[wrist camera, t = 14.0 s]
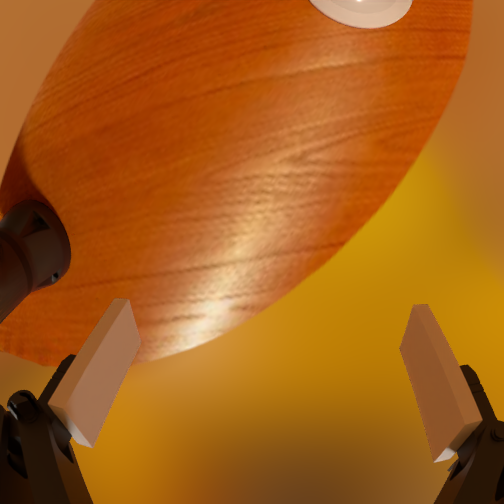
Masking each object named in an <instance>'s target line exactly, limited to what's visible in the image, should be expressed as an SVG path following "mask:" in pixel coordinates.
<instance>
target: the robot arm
mask: <svg viewBox="0 0 504 504" xmlns="http://www.w3.org/2000/svg"><path fill="white" fill-rule="evenodd" d="M70 260H71V251H70V244H69V240H68V237H67V234H66V232H65V229H64V227H63V226H62V224H61V222H60V221H59V219H58V218H57V216H56V215H55V214H54V213H53V212H52V211H51V210H50V209H49V208H48V207H47V206H45V205H44V204H42V203H40V202H38V201H35V200H25V201H22V202H20V203H18V204H17V205H15V206H13V207H12V208H11V209H10V210H9V211H8V212H7V213H6V214H5V216H4V217H3V218H2V220H1V221H0V323H1V322H2V321H3V320H4V319H5V318H6V317H7V316H8V315H9V314H10V313H11V312H12V311H13V310H14V309H15V308H16V307H17V306H18V305H19V304H20V303H21V302H22V301H23V300H24V298H25V297H26V296H28V295H29V294H30V293H31V292H34V291H37V290H39V289H42V288H45V287H48V286H50V285H53V284H54V283H56V282H57V281H58V280H59V279H61V278H62V277H63V276H64V275H65V273H66V272H67V270H68V268H69V265H70ZM140 344H141V339H140V336H139V333H138V330H137V326H136V323H135V320H134V316H133V313H132V309H131V306H130V302H129V299H120V298H115V299H114V300H113V302H112V303H111V304H110V306H109V307H108V309H107V310H106V312H105V313H104V315H103V316H102V318H101V319H100V321H99V322H98V324H97V325H96V327H95V328H94V330H93V331H92V333H91V334H90V336H89V337H88V339H87V340H86V342H85V343H84V345H83V346H82V348H81V350H80V351H79V353H78V354H77V355H72V354H70V355H69V356H68V357H67V358H65V359H64V360H63V361H62V362H61V364H60V365H59V367H58V368H57V371H56V372H55V373H54V375H53V376H52V379H50V381H49V382H48V384H47V386H46V387H45V389H44V391H43V392H42V394H41V395H40V397H39V399H38V400H37V399H36V398H35V396H34V395H33V394H32V393H31V392H30V391H28V390H20V391H18V392H16V393H14V394H13V395H12V396H11V397H10V398H9V400H8V403H7V408H8V409H9V410H10V411H6V410H5V409H4V408H3V406H2V405H0V504H93V501H92V499H91V497H90V494H89V492H88V490H87V487H86V485H85V482H84V479H83V477H82V474H81V471H80V469H79V466H78V463H77V460H76V457H75V454H74V451H73V448H72V446H71V444H70V442H69V441H70V439H71V437H73V438H74V439H75V441H76V442H77V443H78V444H81V445H84V446H88V447H91V448H93V447H94V444H95V442H96V440H97V438H98V435H99V433H100V431H101V428H102V426H103V423H104V422H105V419H106V417H107V415H108V413H109V410H110V408H111V406H112V403H113V401H114V399H115V397H116V395H117V393H118V391H119V388H120V386H121V384H122V382H123V380H124V378H125V375H126V373H127V371H128V369H129V367H130V365H131V363H132V361H133V359H134V357H135V354H136V352H137V350H138V348H139V346H140ZM400 351H401V355H402V357H403V360H404V363H405V366H406V369H407V372H408V375H409V378H410V381H411V384H412V387H413V391H414V393H415V397H416V400H417V403H418V407H419V410H420V413H421V417H422V420H423V424H424V427H425V430H426V435H427V438H428V442H429V446H430V449H431V454H432V458H433V462H438V461H442V460H447V459H450V458H451V457H452V456H453V455H454V454H455V453H456V452H457V454H458V457H459V458H458V459H457V460H456V461H455V462H454V463H453V464H452V466H451V467H450V468H449V469H448V471H450V470H451V469H452V470H451V472H450V474H449V477H448V478H447V480H446V482H445V484H444V486H443V488H442V490H441V491H440V493H439V495H438V497H437V498H436V500H435V502H434V504H504V422H502V421H498V420H497V418H496V416H495V414H494V411H493V409H492V407H491V405H490V403H489V400H488V398H487V396H486V393H485V392H484V389H483V387H482V385H481V384H480V381H479V378H478V376H477V374H476V372H475V371H474V370H473V369H472V368H471V367H469V365H462V366H459V364H458V362H457V360H456V358H455V356H454V354H453V352H452V350H451V348H450V346H449V344H448V342H447V340H446V338H445V336H444V334H443V332H442V330H441V328H440V326H439V325H438V323H437V321H436V319H435V317H434V315H433V313H432V311H431V310H430V308H429V306H428V305H427V304H421V305H413V308H412V311H411V314H410V318H409V321H408V325H407V327H406V331H405V334H404V337H403V340H402V343H401V346H400Z"/></svg>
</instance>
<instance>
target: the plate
mask: <svg viewBox="0 0 504 504" xmlns="http://www.w3.org/2000/svg"><path fill="white" fill-rule="evenodd" d="M309 2H310V3H311V4H312V5H313V6H314V7H315V8H316V9H317V10H318V11H320V12H321V13H322V14H324V15H325V16H327V17H328V18H330V19H332V20H334V21H336V22H338V23H341V24H343V25H346V26H350V27H354V28H360V29H376V28H382V27H385V26H388V25H390V24H393V23H394V22H396V21H397V20H399V19H400V18H402V17H403V16H404V15H405V14H406V12H407V11H408V10H409V8H410V6H411V4H412V0H309Z"/></svg>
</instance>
